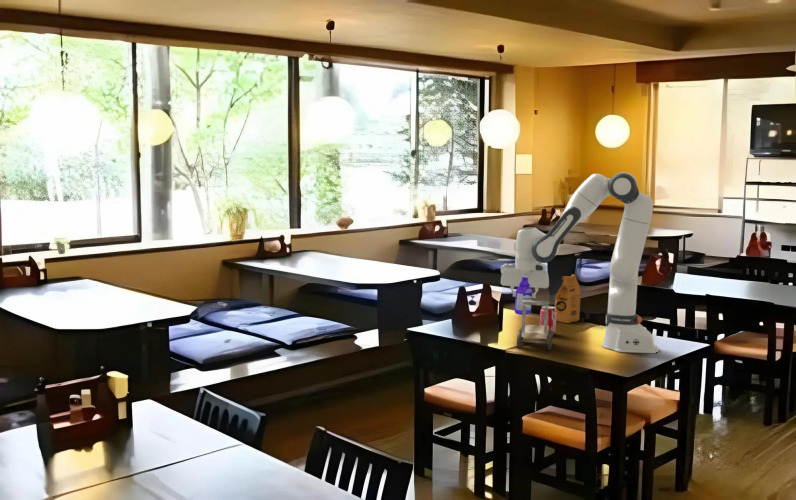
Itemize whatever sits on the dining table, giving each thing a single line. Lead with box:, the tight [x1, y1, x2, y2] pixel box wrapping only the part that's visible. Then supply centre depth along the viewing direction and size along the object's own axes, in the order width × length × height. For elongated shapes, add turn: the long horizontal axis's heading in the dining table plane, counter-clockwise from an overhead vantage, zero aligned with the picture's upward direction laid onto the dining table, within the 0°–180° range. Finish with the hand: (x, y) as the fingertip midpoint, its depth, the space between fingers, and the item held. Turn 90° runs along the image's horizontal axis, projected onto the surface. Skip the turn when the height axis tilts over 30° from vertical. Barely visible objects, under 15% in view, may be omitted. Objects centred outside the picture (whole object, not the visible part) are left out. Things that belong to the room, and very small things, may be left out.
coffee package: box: [554, 273, 581, 324], centre depth 376 cm, size 10×12×22 cm
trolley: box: [516, 300, 554, 351], centre depth 322 cm, size 14×16×20 cm
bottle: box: [514, 274, 533, 316], centre depth 335 cm, size 7×6×17 cm
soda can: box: [539, 305, 557, 335], centre depth 346 cm, size 7×7×12 cm
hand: (524, 297), depth 335 cm, fingers closed on bottle, 7 cm apart
